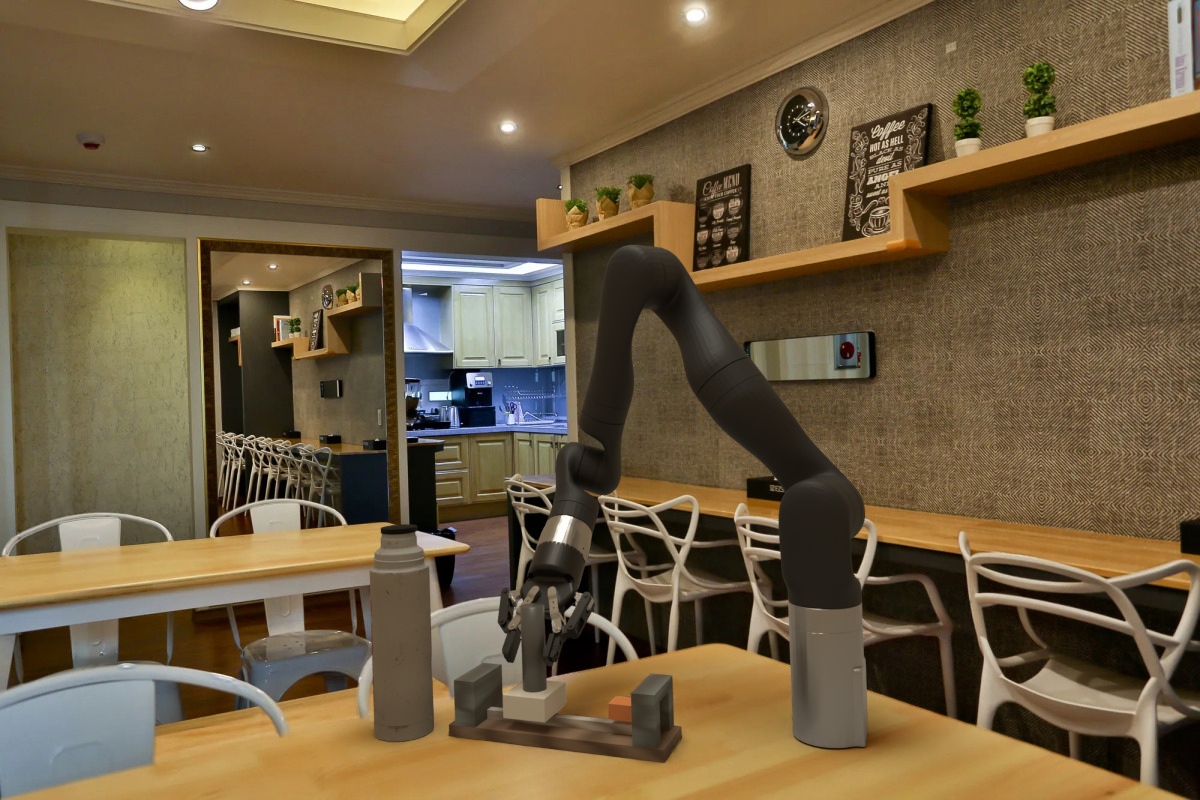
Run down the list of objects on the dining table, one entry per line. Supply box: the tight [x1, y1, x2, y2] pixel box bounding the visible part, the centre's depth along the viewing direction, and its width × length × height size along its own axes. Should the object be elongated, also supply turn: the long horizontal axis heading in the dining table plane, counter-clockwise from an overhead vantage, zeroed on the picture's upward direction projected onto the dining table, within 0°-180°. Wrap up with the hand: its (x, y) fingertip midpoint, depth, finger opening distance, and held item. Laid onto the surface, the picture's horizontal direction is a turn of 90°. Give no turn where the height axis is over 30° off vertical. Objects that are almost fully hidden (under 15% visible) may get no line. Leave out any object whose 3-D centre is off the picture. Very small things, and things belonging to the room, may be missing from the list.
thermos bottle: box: [369, 523, 435, 742], centre depth 116 cm, size 8×8×28 cm
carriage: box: [503, 603, 567, 723], centre depth 113 cm, size 6×7×14 cm
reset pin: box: [607, 695, 632, 722], centre depth 108 cm, size 5×3×2 cm, turn 69°
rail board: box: [448, 662, 683, 763], centre depth 112 cm, size 30×8×8 cm, turn 69°
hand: (527, 661), depth 111 cm, fingers open, 5 cm apart
